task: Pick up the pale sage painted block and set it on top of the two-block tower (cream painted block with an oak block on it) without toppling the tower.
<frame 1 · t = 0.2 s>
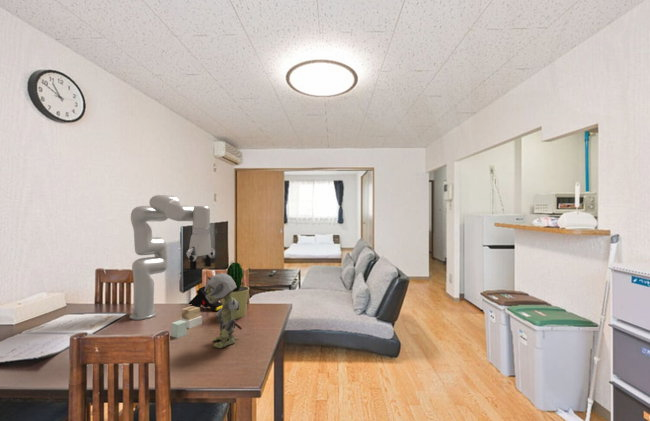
hand: (200, 267, 145), 30 cm above the table, tool pointing down, fingers open, 9 cm apart
tower base: (190, 325, 154), on the table, touching tower top
potted cactus: (234, 316, 168), on the table
toy: (223, 343, 132), on the table
tower top: (190, 317, 154), point 4 cm above the table, touching tower base
sage block: (178, 335, 140), on the table
toy gun: (205, 309, 180), on the table
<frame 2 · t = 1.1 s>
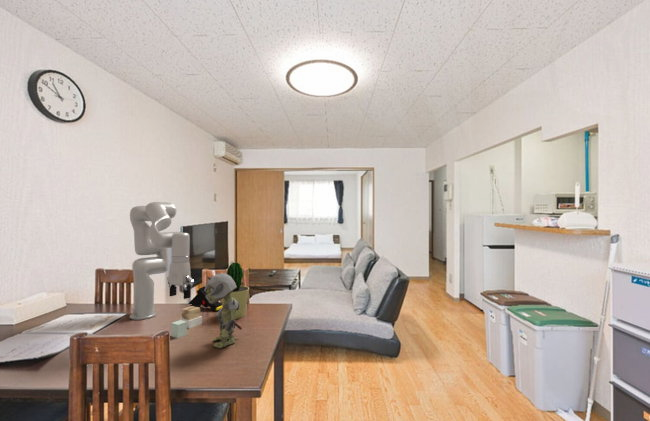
hand: (179, 297, 140), 18 cm above the table, tool pointing down, fingers open, 9 cm apart
nothing on the table moved.
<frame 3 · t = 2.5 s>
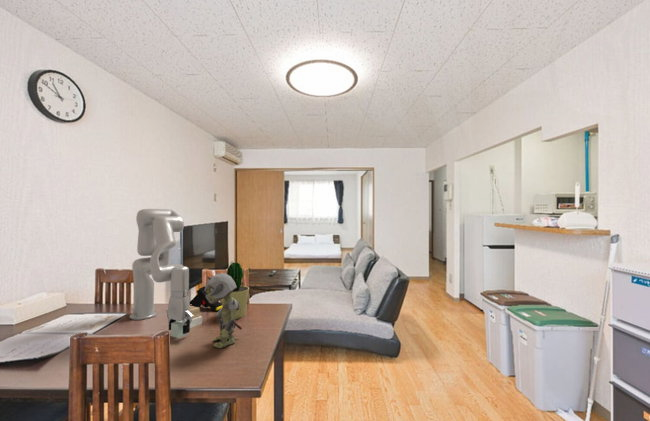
hand: (179, 331, 140), 2 cm above the table, tool pointing down, fingers open, 9 cm apart
nothing on the table moved.
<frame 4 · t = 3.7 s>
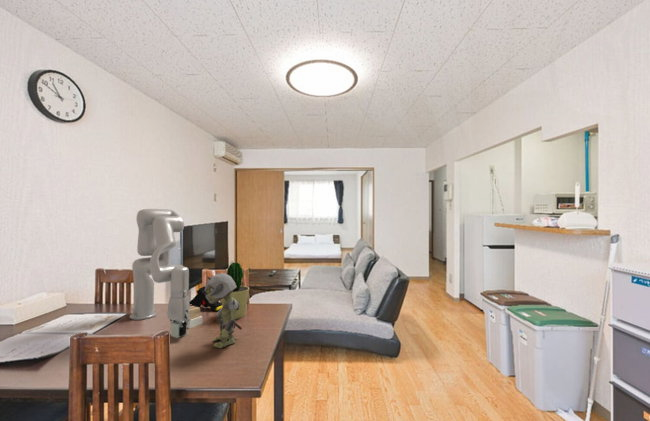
hand: (178, 333, 140), 1 cm above the table, tool pointing down, fingers closed on sage block, 4 cm apart
tower base: (191, 325, 154), on the table
tower top: (190, 317, 154), point 4 cm above the table
sage block: (178, 335, 140), on the table, touching gripper
everything else where it was.
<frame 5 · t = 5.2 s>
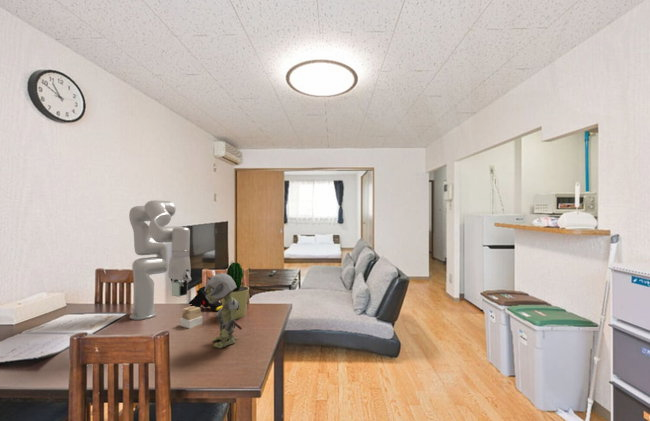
hand: (179, 293, 141), 19 cm above the table, tool pointing down, fingers closed on sage block, 4 cm apart
sage block: (179, 295, 140), point 18 cm above the table, touching gripper
everything else where it was.
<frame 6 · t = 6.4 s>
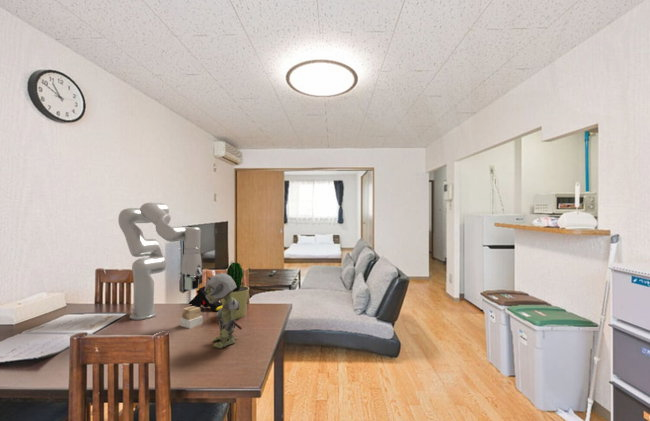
hand: (191, 287, 154), 19 cm above the table, tool pointing down, fingers closed on sage block, 4 cm apart
tower base: (191, 325, 154), on the table, touching tower top
tower top: (191, 317, 154), point 4 cm above the table, touching tower base
sage block: (191, 288, 154), point 18 cm above the table, touching gripper
everything else where it was.
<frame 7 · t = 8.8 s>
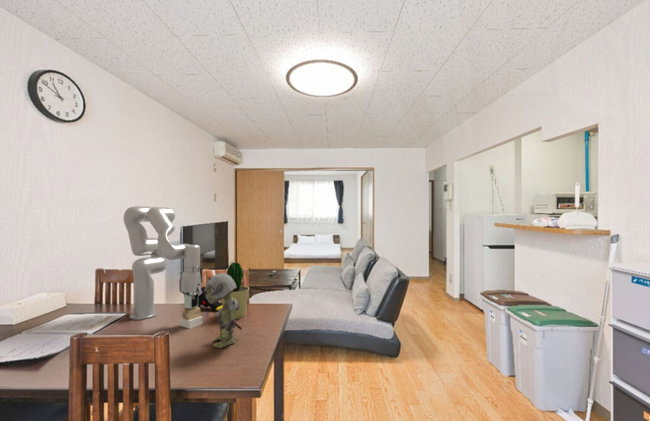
hand: (191, 305, 154), 10 cm above the table, tool pointing down, fingers closed on sage block, 4 cm apart
sage block: (191, 306, 154), point 9 cm above the table, touching gripper
everything else where it was.
when the fingers open (10 cm above the table, at t = 9.0 s): sage block stays where it is, resting on tower top.
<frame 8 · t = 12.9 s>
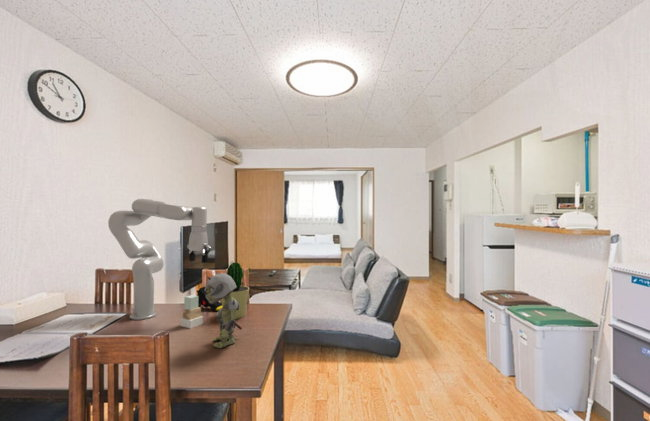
hand: (198, 261, 164), 30 cm above the table, tool pointing down, fingers open, 9 cm apart
tower top: (191, 317, 154), point 4 cm above the table, touching sage block, tower base
sage block: (191, 308, 154), point 8 cm above the table, touching tower top
everything else where it was.
at the end: sage block 0.3 cm off-centre on the tower base, point 8.5 cm above the tower base's base; tower top 0.2 cm off-centre on the tower base, point 4.0 cm above the tower base's base; sage block tilted 0° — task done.
